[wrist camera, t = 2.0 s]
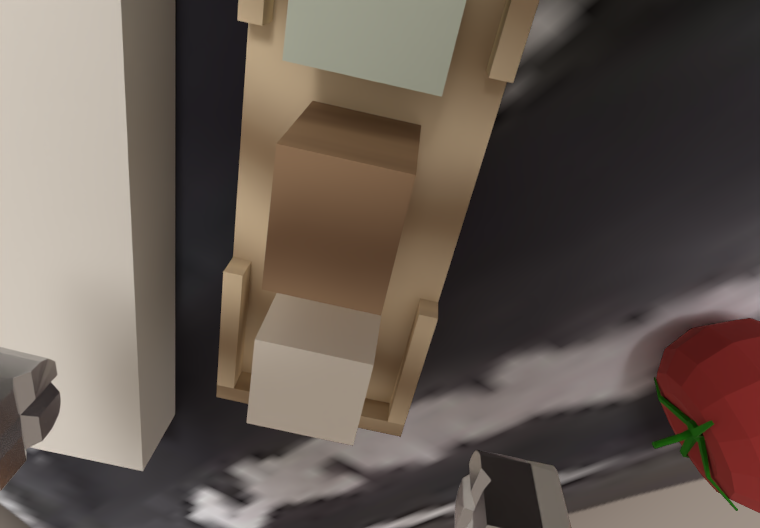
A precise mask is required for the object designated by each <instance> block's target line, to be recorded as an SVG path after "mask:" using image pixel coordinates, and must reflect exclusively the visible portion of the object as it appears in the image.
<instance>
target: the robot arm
mask: <svg viewBox="0 0 760 528" xmlns="http://www.w3.org/2000/svg"><path fill="white" fill-rule="evenodd" d="M57 375H58V374H57V369H56V364H55V361H53V360H51V359H48V358H44V357H40V356H36V355H32V354H28V353H23V352H19V351H15V350H11V349H7V348H3V347H0V491H1V490H2V489H3V488H4V487H5V485H6V484H7V483H8V482H9V481H10V479H11V478H12V477H13V476H14V475H15V473H16V472H17V471H18V470H19V469H20V467H21V466H22V465H23V464H24V463H25V461H26V449H27V448H29V447H31V446H33V445H35V444H37V443H39V442H42V441H43V440H44V438H45V437H46V436H47V435H48V433H49V432H50V431H51V429H52V428H53V426H54V424H55V421H56V419H57V417H58V415H59V411H60V405H61V398H60V392H59V391H58V390H57V388H56V387H55V386H54V385H53V384H52V383H51V381H52V380H53V379H54V378H55V377H56V376H57ZM469 470H470V474H469V475H468V476H466V477H464V478H463V479H462V481H461V484H460V487H459V489H458V494H457V498H456V503H455V528H571V525H570V521H569V516H568V512H567V508H566V504H565V500H564V496H563V492H562V488H561V484H560V480H559V476H558V472H557V470H556V469H555V467H554V466H552V465H548V464H543V463H538V462H533V461H526V460H524V459H519V458H514V457H509V456H504V455H499V454H494V453H489V452H485V451H480V450H476V451H475V452H474V453H473V455H472V457H471V460H470V462H469Z"/></svg>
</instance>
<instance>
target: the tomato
mask: <svg viewBox="0 0 760 528" xmlns="http://www.w3.org/2000/svg"><path fill="white" fill-rule="evenodd" d="M654 381H655V385H656V390H657V395H658V399H659V401H660V402H661V405H662V407H663V409H664V412H665V414H666V416H667V419H668V421H669V423H670V425H671V427H672V429H673V431H674V433H675V434H676V435H673V436H670V437H667V438H664V439H661V440H658V441H654V442H652V445H653V447H654V448H655V449H656V448H659V447H662V446H666V445H669V444H673V443H676V442H680V443H681V445H682V447H681V450H680V452H681V454H682V456H683V457H688V458H690V459H691V461H692V462H693V464H694V465H695V466H696V468H697V469H698V471H699V472H700V474H701V475H702V476H703V477H704V478H705V479H706V480H707V481H708V482H709V484H710V485H711V486H712V487H713V488H714V489H715V490H716V491H717V492H718V493H720V494H721V495H722V496H723V497H724V498H725V499H726V500H727V501H728V502H729V503H730V505H731V506H732V507H733V508H734V509H735V510H736V511H737V510H738V509H737V508H736V507H735V506H734V505H733V503H732V502H731V501H730V500H729V499H731V500H733V501H735V502H737V503H739V504H741V505H744V506H746V507H748V508H750V509H752V510H754V511H757V512H759V513H760V321H757V320H754V319H751V318H747V319H740V320H733V321H728V322H722V323H717V324H711V325H706V326H701V327H695V328H691V329H690V330H689V331H687V332H686V333H685V334H683V335H682V336H681V337H680V338H678V339H677V340H676V341H674V342H673V343H672V344H671V345H669V346H668V347H667V348H665V349H664V353H663V356H662V359H661V363H660V366H659V369H658V372H657V377H656V378H655V377H654ZM728 498H729V499H728Z"/></svg>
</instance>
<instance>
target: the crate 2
mask: <svg viewBox="0 0 760 528" xmlns="http://www.w3.org/2000/svg"><path fill="white" fill-rule="evenodd" d="M381 316H382V314H381ZM381 316H380V315H376V314H371V313H367V312H362V311H358V310H353V309H349V308H344V307H339V306H335V305H330V304H326V303H321V302H317V301H312V300H308V299H303V298H298V297H294V296H289V295H285V294H280V293H277V294H276V296H275V298H274V300H273V302H272V304H271V306H270V308H269V310H268V313H267V315H266V317H265V319H264V321H263V323H262V325H261V327H260V329H259V331H258V334H257V336H256V338H255V342H254V352H253V362H252V372H251V383H250V393H249V403H248V413H247V423H249V424H254V425H258V426H263V427H268V428H272V429H277V430H282V431H286V432H291V433H296V434H300V435H305V436H310V437H314V438H319V439H324V440H328V441H333V442H338V443H342V444H347V445H352V446H353V444H354V440H355V436H356V433H357V429H358V425H359V421H360V417H361V413H362V409H363V405H364V401H365V397H366V393H367V389H368V385H369V382H370V378H371V374H372V370H373V366H374V360H375V354H376V347H377V341H378V335H379V328H380V322H381Z"/></svg>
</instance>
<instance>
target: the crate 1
mask: <svg viewBox="0 0 760 528" xmlns="http://www.w3.org/2000/svg"><path fill="white" fill-rule="evenodd" d="M465 4H466V0H288V9H287V19H286V29H285V39H284V49H283V59H282V60H283V61H287V62H292V63H296V64H300V65H305V66H309V67H314V68H318V69H322V70H327V71H331V72H335V73H340V74H344V75H349V76H353V77H357V78H362V79H366V80H371V81H375V82H379V83H384V84H388V85H392V86H397V87H401V88H406V89H410V90H414V91H419V92H423V93H428V94H432V95H436V96H441V97H442V94H443V90H444V86H445V82H446V78H447V74H448V70H449V67H450V63H451V59H452V55H453V51H454V47H455V43H456V39H457V35H458V31H459V27H460V23H461V19H462V16H463V12H464V8H465Z"/></svg>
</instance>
